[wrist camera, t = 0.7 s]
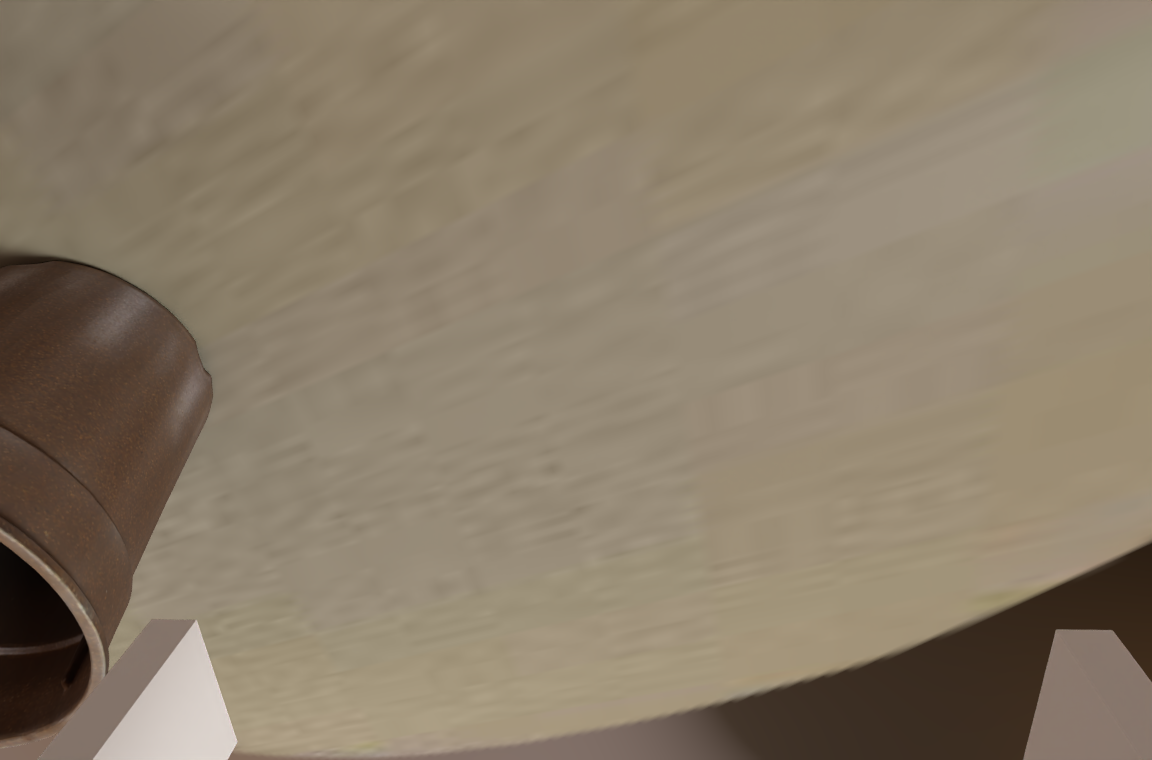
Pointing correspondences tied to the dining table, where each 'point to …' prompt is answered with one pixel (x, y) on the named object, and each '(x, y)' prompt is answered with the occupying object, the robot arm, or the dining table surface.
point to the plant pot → (81, 473)
